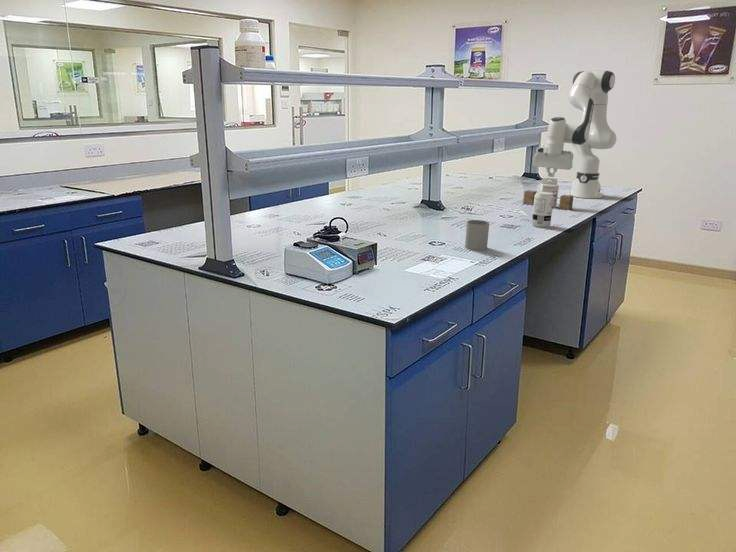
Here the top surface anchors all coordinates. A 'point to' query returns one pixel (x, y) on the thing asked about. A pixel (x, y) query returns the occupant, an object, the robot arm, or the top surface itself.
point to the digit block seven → (529, 197)
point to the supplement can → (542, 209)
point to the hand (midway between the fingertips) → (550, 176)
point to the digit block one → (566, 202)
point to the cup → (477, 235)
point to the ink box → (550, 188)
